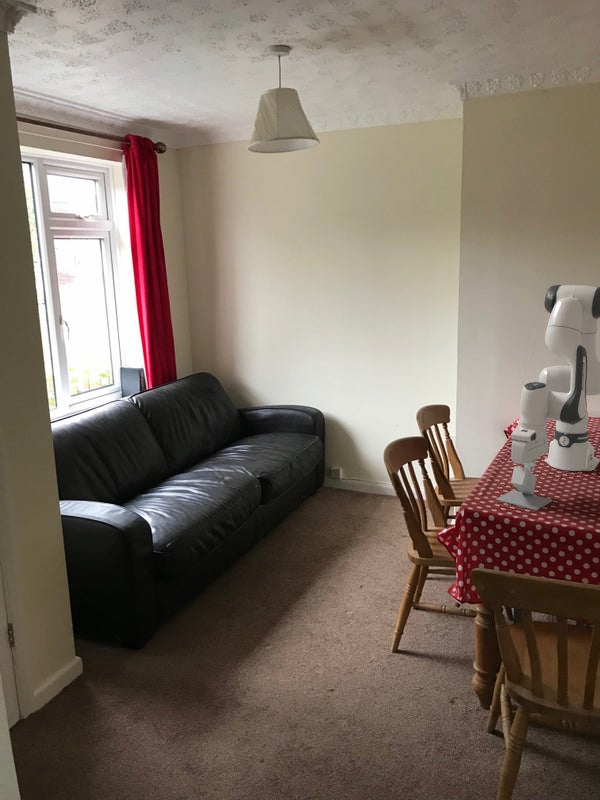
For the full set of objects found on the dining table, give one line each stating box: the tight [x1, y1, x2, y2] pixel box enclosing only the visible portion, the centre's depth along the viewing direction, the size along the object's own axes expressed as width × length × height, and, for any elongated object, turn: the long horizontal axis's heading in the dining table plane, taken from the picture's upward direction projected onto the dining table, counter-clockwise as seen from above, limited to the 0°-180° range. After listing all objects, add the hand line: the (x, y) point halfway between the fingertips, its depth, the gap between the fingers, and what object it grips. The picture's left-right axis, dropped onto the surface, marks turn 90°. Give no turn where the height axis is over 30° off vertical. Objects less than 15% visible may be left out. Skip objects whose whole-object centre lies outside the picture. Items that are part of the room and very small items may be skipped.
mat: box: [495, 489, 553, 512], centre depth 221 cm, size 12×14×1 cm
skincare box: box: [510, 465, 538, 495], centre depth 222 cm, size 6×4×12 cm
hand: (529, 471), depth 224 cm, fingers closed
